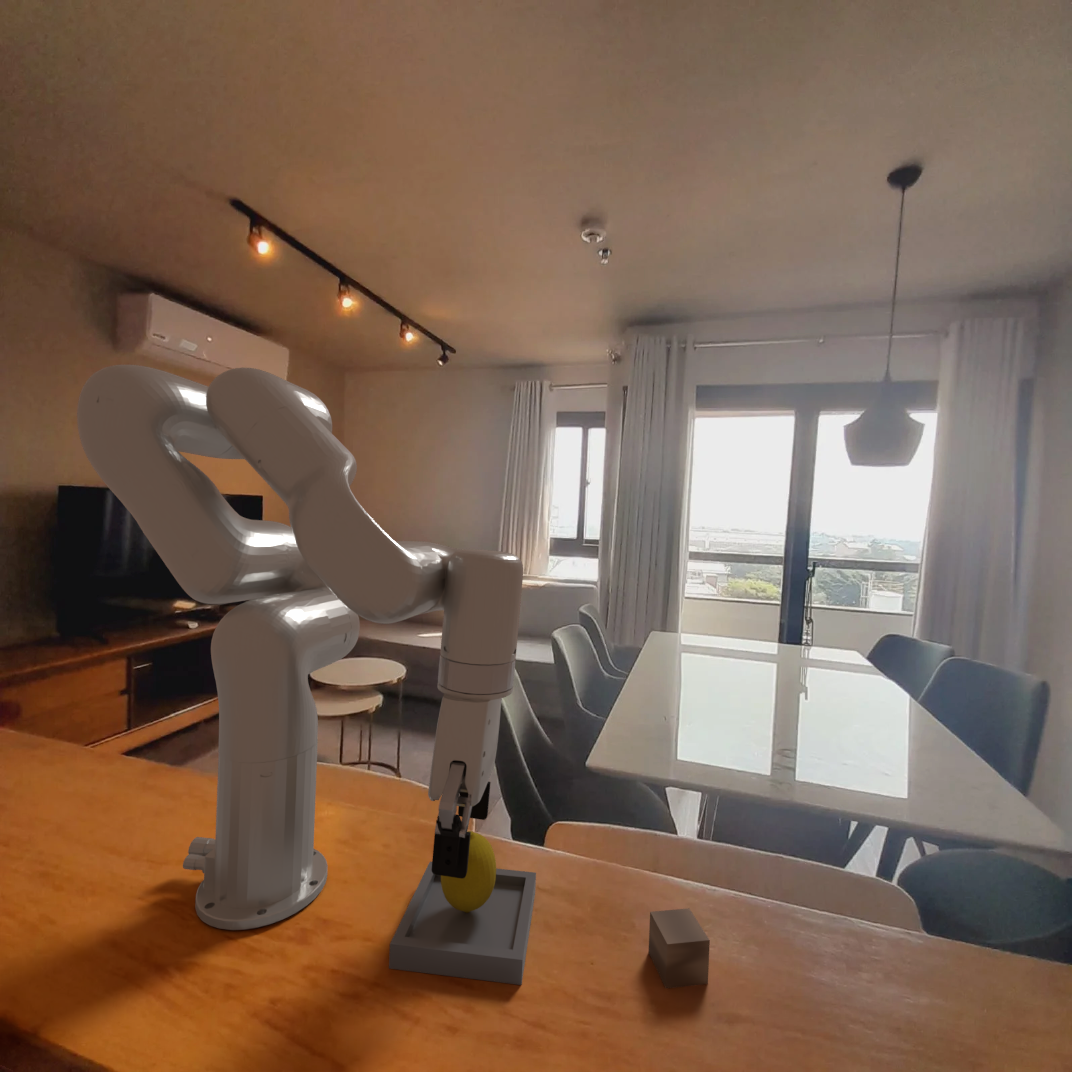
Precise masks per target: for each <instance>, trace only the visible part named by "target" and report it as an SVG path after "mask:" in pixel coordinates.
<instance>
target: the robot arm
mask: <svg viewBox="0 0 1072 1072" xmlns="http://www.w3.org/2000/svg"><path fill="white" fill-rule="evenodd" d="M85 381H86V382H85V384H83V386H82V388H81V391H80V393H79V397H78V402H77V410H76V418H77V431H78V436H79V439H80V444H81V446H82V449H83V452H84V454H85V456H86V458H87V461H88V462H89V463H90V465H91V467H92V468H93V470H94V471H95V472H96V473H97V475H98V477H99V478H100V479H101V480H102V482H103V483H104V484H105V485H106V486H107V488H108V489H109V490H110V491H111V492H112V494H114V496H116V498H117V499H118V500H119V501H120V502H121V504H122V505H123V507H125V509H127V511H128V512H129V513H130V514H131V516H132V517H133V519H134V520H135V521H136V523H137V524H138V526H139V528H140V530H141V531H142V533H143V534H144V536H145V538H146V539H147V540H148V541H149V543H150V544H151V545H152V547H153V549H154V550H155V552H156V553H157V554H158V556H159V558H160V559H161V560H162V561H163V563H164V565H165V567H167V569H168V570H169V572H170V574H171V575H172V576H173V577H174V579H175V581H176V582H177V583H178V584H179V586H180V587H181V589H182V590H183V591H184V592H185V593H186V594H187V595H188V596H189V597H190V598H192V599H193V601H194V600H195V601H196V602H199V603H201V604H209V605H222V604H230V603H238V602H241V603H240V604H239V605H237V606H235V607H234V608H232V609H231V610H229V611H228V612H227V613H226V614H225V615H224V616H223V617H222V618H221V619H220V620H219V622H218V623H217V625H216V627H215V629H214V631H213V634H212V638H211V640H210V641H211V643H210V655H211V656H210V657H211V664H212V669H213V674H214V679H215V685H216V691H217V699H218V700H217V701H218V702H217V703H218V718H219V719H218V757H217V758H218V760H217V761H218V762H217V765H218V767H217V787H216V790H217V791H216V792H217V793H216V815H215V817H216V818H215V819H216V820H215V837H214V838H210V837H203V836H201V837H200V836H196V837H195V838H193V840H192V841H190V845H189V847H188V851H187V853H188V855H186V857H185V858H184V860H183V863H182V868H183V869H184V870H190V871H191V870H192V871H198V870H199V871H201V872H202V873H203V880H202V881H201V883H200V884H199V886H198V888H197V890H196V894H195V902H194V903H195V906H194V909H195V912H196V916H198V917H199V919H200V920H201V921H202V922H203V923H204V924H207V925H209V926H210V927H214V928H217V929H221V930H227V931H241V930H243V931H244V930H251V929H257V928H262V927H265V926H269V925H272V924H274V923H277V922H280V921H282V920H285V919H287V918H289V917H290V916H293V915H295V914H297V913H298V912H299V911H301V910H303V909H304V908H306V907H307V906H308V905H309V904H310V903H312V901H314V900H315V899H316V898H317V897H318V896H319V894H320V893H321V892H322V891H323V889H324V886H325V885H326V883H327V878H328V868H329V867H328V862H327V858H325V856H324V855H323V853H322V852H320V851H319V850H317V849H315V848H314V847H315V846H314V845H315V844H314V843H315V842H314V841H315V840H314V839H315V823H316V822H315V820H316V819H315V817H316V816H315V815H316V795H317V792H316V791H317V765H318V743H319V742H318V737H319V735H318V734H319V733H318V732H319V720H318V709H317V705H316V702H315V699H314V697H313V693H312V691H311V688H310V685H309V679H308V678H309V675H310V674H312V673H313V672H315V671H318V670H320V669H322V668H325V667H327V666H330V665H333V664H334V663H336V662H338V661H340V660H341V659H343V658H344V657H346V656H347V655H348V654H350V652H352V650H353V649H354V647H355V646H356V644H357V642H358V640H359V636H360V630H361V629H360V628H361V623H360V617H361V618H362V619H365V620H366V621H369V622H372V623H377V624H385V625H386V624H395V623H397V622H398V623H399V622H401V621H405V620H408V619H409V618H413V617H415V616H418V615H423V614H427V613H431V612H435V611H443V618H442V630H441V638H440V639H441V642H440V652H439V653H440V654H439V664H438V674H437V675H438V676H437V686H436V687H437V689H438V691H440V692H441V693H442V699H441V703H440V708H439V714H438V719H437V724H436V731H435V738H434V743H433V744H434V745H433V751H432V759H431V760H432V761H431V765H430V766H431V768H430V774H429V783H428V791H427V792H428V793H427V795H428V796H427V797H428V798H429V800H430V801H432V802H435V801H439V804H438V814H437V817H436V821H435V822H436V823H435V827H434V828H435V829H434V838H433V848H432V849H433V850H432V861H431V862H432V873H433V874H435V875H442V876H448V877H455V878H461V879H463V878H465V877H466V874H467V869H468V858H469V846H470V835H471V832H468V830H469V824H470V820H471V819H474V820H483V821H485V820H487V818H488V814H489V805H490V791H491V783H492V782H491V781H490V778H491V775H492V773H493V770H494V766H495V761H496V757H497V751H498V744H499V743H498V742H499V731H500V721H501V708H502V707H501V706H502V699H503V698H506V697H508V696H510V695H512V694H513V691H514V681H515V670H516V659H517V650H518V637H519V635H518V634H519V624H520V623H519V622H520V616H521V615H520V614H521V613H520V612H521V602H522V590H523V589H522V588H523V580H524V579H523V578H524V565H523V562H522V560H521V558H520V557H519V556H518V555H516V554H514V553H511V552H506V551H501V550H500V551H499V550H493V549H492V550H489V549H478V548H477V549H475V548H465V549H463V548H457V547H452V546H449V545H446V544H445V545H443V544H441V543H435V542H430V541H425V540H424V541H421V540H418V541H416V540H415V541H413V540H395V539H393V538H392V537H391V536H390V535H389V534H388V533H387V531H385V529H383V528H382V527H381V526H380V524H378V523H377V522H376V520H375V519H374V518H372V516H371V515H370V514H369V513H368V512H367V510H365V508H364V507H363V506H362V505H361V503H360V502H359V501H358V500H357V498H356V497H355V494H354V493H353V492H352V489H351V488H350V486H351V485H352V484H353V483H354V480H355V478H356V474H357V471H358V465H357V464H358V463H357V460H356V458H355V455H353V453H352V452H351V451H350V450H349V449H348V448H347V447H346V446H345V445H344V444H343V443H342V442H341V441H340V440H339V439H338V438H337V437H336V436H335V435H334V434H333V420H332V416H331V414H330V413H331V412H330V410H329V409H328V407H327V405H326V404H325V403H324V402H323V400H321V398H320V397H318V396H317V395H316V394H315V393H313V392H311V391H310V390H308V389H306V388H303V387H302V386H300V385H297V384H295V383H293V382H290V381H288V380H286V379H284V378H282V377H279V376H278V375H276V374H273V373H271V372H268V371H266V370H264V369H263V370H262V369H259V368H254V367H236V368H232V369H228V370H226V371H223V372H222V373H220V374H219V375H217V376H216V377H215V378H214V379H213V380H212V381H211V382H210V384H209V386H208V385H206V384H202V383H200V382H198V381H195V380H194V381H193V380H191V379H189V378H185V377H183V376H180V375H178V374H177V375H176V374H175V373H173V372H172V373H171V372H168V371H165V370H162V369H158V368H155V367H149V366H144V365H138V364H116V365H115V364H114V365H110V366H105V367H103V368H101V369H99V370H97V371H95V372H93V373H92V374H91V376H89V377H88V379H87V380H85ZM181 453H184V454H185V453H186V454H191V455H195V456H196V455H197V456H202V457H207V458H215V459H220V460H222V459H223V460H245V461H246V463H248V464H249V466H250V467H251V468H252V469H253V470H254V471H255V472H256V473H257V474H258V475H259V476H260V477H261V478H262V480H263V481H265V483H266V484H267V485H268V486H269V487H270V488H271V489H272V490H273V492H274V493H276V495H278V497H279V498H280V499H281V500H282V501H283V502H284V504H285V505H286V506H287V508H288V520H289V525H288V524H285V523H282V522H279V521H274V520H266V519H265V520H262V519H260V520H259V519H250V518H246V517H243V516H242V515H240V514H239V513H238V512H237V511H236V510H235V509H234V508H233V506H231V505H230V503H229V502H228V501H227V500H226V499H225V498H224V496H223V495H222V494H221V492H220V490H219V489H218V487H217V486H216V484H215V483H214V481H212V480H211V478H210V477H209V476H208V475H207V474H206V473H204V472H203V471H202V470H201V469H200V468H198V467H197V466H196V465H195V464H194V463H192V462H191V461H190V460H188V459H187V458H186V457H185V456H184V455H183V454H181ZM242 602H243V603H242ZM457 807H458V809H457Z"/></svg>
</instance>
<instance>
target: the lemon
mask: <svg viewBox="0 0 1072 1072" xmlns="http://www.w3.org/2000/svg"><path fill="white" fill-rule="evenodd" d="M467 832H471V835H470V846H469V858H468V869H467V874H466V877H465V878H463V879H461V878H455V877H448V876H442V875H441V886H442V890H443V893H444V896H445V898H446V900H447V901H448V902H449V904H450V905H451V906H452V907H454V908H455V909H457V910H460V911H464V912H466V913H469V912H470V911H473V910H476V909H478V908H480V907H481V906H482V905H484V903H485V902H486V901H487V900H488V899H489V897H490V895H491V893H492V891H493V888H494V885H495V880H496V868H497V861H496V856H495V852H494V849H493V847H492V845H491V843H490V841H489V840H488V839H487V838H486V837H485V836H484V835H482V834H480V833H478V832H474V831H472V830H469V831H468V830H467Z"/></svg>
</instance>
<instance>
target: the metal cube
mask: <svg viewBox="0 0 1072 1072" xmlns="http://www.w3.org/2000/svg"><path fill="white" fill-rule="evenodd" d="M648 930H649V931H648V932H649V933H648V954H649V957H650V958H651V961H652V963H653V965H654V967H655V969H656V972H657V974H658V976H659V977H660V979H661V981H662V984H663V986H664V988H665V989H672V988H682V987H683V988H684V987H691V986H699V985H700V986H701V985H702V986H703V985H708V984H709V967H710V963H709V962H710V941H711V939H710V938H709V937H708V935H707V933H706V932H705V930H704V928H702V926H701V924H700V923H699V921H698V920H697V917H696V916H695V915H694V914H693V912H692V910H691V909H690V907H689V908H679V909H678V908H677V909H666V910H655V911H649V929H648Z"/></svg>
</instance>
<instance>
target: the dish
mask: <svg viewBox="0 0 1072 1072" xmlns="http://www.w3.org/2000/svg"><path fill="white" fill-rule="evenodd" d="M536 879H537V872H534V871H523V870H515V869H506V868H503V869H502V868H498V867H496V880H495V885H494V888H493V891H492V893H491V895H490V897H489V899H488V900H487V901H486V902H485V903H484V905H482V906H481V907H480V908H478V909H476V910H473V911H470V912H469V913H466V912H464V911H460V910H457V909H455V908H454V907H452V906H451V905H450V904H449V902H448V901H447V900H446V898H445V896H444V893H443V890H442V886H441V875H435V874H433V873H432V861H429V862H428V864H427V867H426V869H425V871H424V872H423V875H422V876H421V879H420V881H419V883H418V885H417V888H416V890H415V891H414V894H413V895H412V898H411V899H410V901H409V904H408V906H407V908H406V910H405V912H404V914H403V916H402V917H401V920H400V922H399V925H398V926H397V928H396V930H395V932H394V935H393V936H392V939H391V941H390V943H389V956H388V959H389V960H388V969H391V970H392V969H393V970H398V971H406V972H413V973H424V974H431V975H438V976H439V975H441V976H446V977H455V978H463V979H471V980H477V981H478V980H479V981H488V982H495V983H503V984H511V985H517V986H518V985H519V986H522V985H523V984H522V983H523V979H524V978H523V977H524V970H525V965H526V964H525V963H526V957H527V950H528V944H529V937H530V932H531V931H530V930H531V925H532V924H531V923H532V917H533V910H534V903H535V896H536V888H537V887H536V884H537V883H536V882H537V880H536Z"/></svg>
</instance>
